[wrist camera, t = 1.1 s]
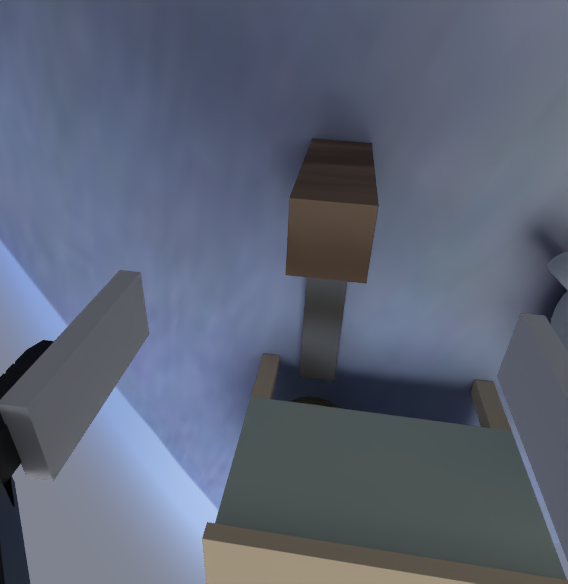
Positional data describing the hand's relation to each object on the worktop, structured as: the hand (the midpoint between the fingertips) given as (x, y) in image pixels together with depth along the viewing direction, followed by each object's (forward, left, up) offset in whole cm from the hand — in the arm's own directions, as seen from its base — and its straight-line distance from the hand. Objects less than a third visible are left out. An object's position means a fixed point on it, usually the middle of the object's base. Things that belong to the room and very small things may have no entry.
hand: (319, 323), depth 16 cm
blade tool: (+8, 0, -19) cm, 20 cm away
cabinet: (+22, +5, -19) cm, 29 cm away
